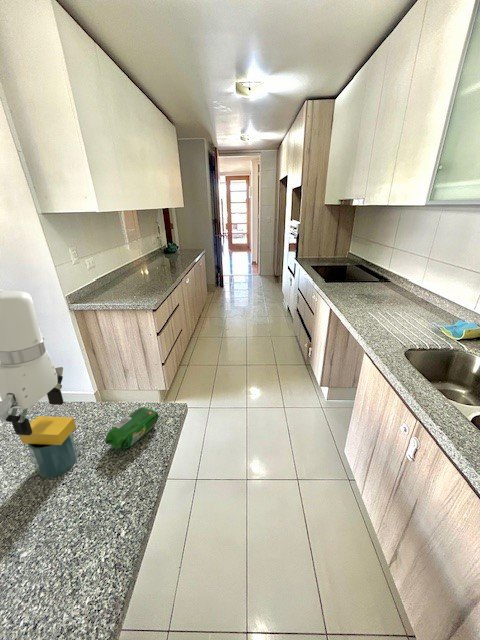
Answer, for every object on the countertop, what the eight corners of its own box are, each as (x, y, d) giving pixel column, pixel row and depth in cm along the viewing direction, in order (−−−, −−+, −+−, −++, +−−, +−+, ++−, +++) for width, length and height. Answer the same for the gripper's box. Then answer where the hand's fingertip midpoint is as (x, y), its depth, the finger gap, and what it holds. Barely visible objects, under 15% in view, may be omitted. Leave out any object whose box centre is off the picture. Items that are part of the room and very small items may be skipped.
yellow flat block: (22, 443, 59) (18, 433, 58) (40, 425, 64) (37, 416, 63) (60, 445, 58) (57, 434, 57) (76, 427, 64) (73, 417, 62)
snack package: (101, 450, 68) (97, 434, 66) (146, 413, 81) (144, 400, 79) (120, 461, 65) (116, 445, 63) (163, 421, 78) (162, 407, 76)
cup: (29, 477, 61) (18, 448, 57) (54, 448, 68) (45, 421, 65) (63, 479, 60) (54, 450, 57) (84, 450, 68) (77, 423, 65)
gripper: (37, 333, 62) (53, 393, 68) (-40, 373, 45) (-10, 447, 51) (68, 335, 61) (81, 395, 67) (2, 375, 45) (27, 449, 51)
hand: (41, 417), depth 59 cm, fingers open, 9 cm apart
